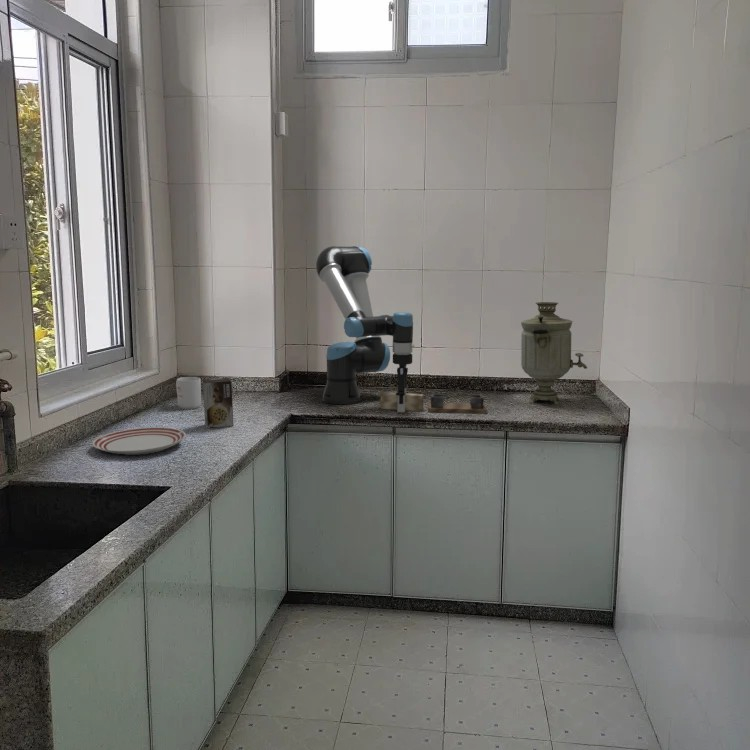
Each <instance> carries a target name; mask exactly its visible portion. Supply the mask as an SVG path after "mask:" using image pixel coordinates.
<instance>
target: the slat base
mask: <svg viewBox="0 0 750 750" xmlns="http://www.w3.org/2000/svg"><path fill="white" fill-rule="evenodd" d="M430 394H431V395H430V396H431V397H430V398H431V399H430V402H428V403H427V413H446V414H451V413H453V414H481V415H482V414H487V411H488V409H487V406H486V404H485V403H484V395H483V394H470V401H469V402H470V403H462V402H461V403H459V402H458V403H457V402H456V403H454V402H453V403H452V402H451V403H450V402H444V393H430Z"/></svg>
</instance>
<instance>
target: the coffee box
mask: <svg viewBox="0 0 750 750" xmlns="http://www.w3.org/2000/svg"><path fill="white" fill-rule="evenodd" d="M202 383H203V384H202V385H203V386H202V388H203V390H202V392H203V405H204V406H203V409H204V425H205V427H206V426H207V427H206V428H207V429H210V428H209V427H217V428H224V427H234V412H233V411H234V410H233V409H234V408H233V386H232V380H231V379H230V378H229V377H222V378H221V377H220V378H219V377H218V378H205V379H203V380H202Z"/></svg>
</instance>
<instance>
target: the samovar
mask: <svg viewBox="0 0 750 750" xmlns="http://www.w3.org/2000/svg"><path fill="white" fill-rule="evenodd" d="M535 304H536V305H537V311H538V312H539V314H536V315H535V316H534V317H533V318H530V319H525V320H522V321H521V322H520V324H521V327H522V331H521V341H520V342H521V346H520V347H521V349H520V351H521V357H520V359H521V361H520V362H521V364H520V365H521V368H522V370H523V372H524V373H525V374H527V375H528V376H529V377H530V378H531V379H534V380H535V381H536V383H535V385H536V386H538V388H537V389H535V390H534V391H533V392H531V395H530V397H529V398H530V399H531V400H529V401H528V403H529V404H534V403H535V402H536V401H538V400H540V401H550V402H552V403H553V405H554V406H555V405H556V406H559V405H560V404H559V402H558V400H560V398H559V395H558V393H557V392H555V390H553V389H552V387H553V386H554V385H555V380H558V379H561V378H562V377H563V376H564V375H567V373H569V371H570V369H573V368H574V366H577V367H578V368H583V369H584V370H587V369H588V366H587V365H586V364H585V363H584V362H583V361H582V360H581V358H582V357H584V354H583V353H580V352H577V353H575V354H574V355H575V357H578V361H577V362H574V360H573V359H572V331H571V328H572V324H573V320H570V319H568V318H567V319H566V318H563V317H560V315H557V314H555V312H556V310H557V308H556V307H557V305H559V302H556V301H555V302H553V301H539V302H537V301H536V302H535Z"/></svg>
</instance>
